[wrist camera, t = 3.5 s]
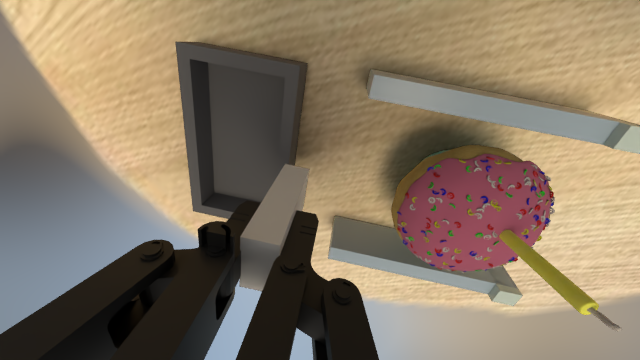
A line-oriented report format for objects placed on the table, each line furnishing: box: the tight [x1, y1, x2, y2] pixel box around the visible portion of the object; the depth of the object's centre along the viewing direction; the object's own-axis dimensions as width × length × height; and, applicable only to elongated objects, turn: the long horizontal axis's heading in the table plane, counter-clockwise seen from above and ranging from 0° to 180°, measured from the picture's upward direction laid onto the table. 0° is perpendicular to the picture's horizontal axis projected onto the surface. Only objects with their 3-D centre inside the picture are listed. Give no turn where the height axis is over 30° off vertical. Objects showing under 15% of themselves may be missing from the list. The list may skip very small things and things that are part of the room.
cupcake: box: [391, 145, 621, 331], centre depth 14 cm, size 9×8×12 cm
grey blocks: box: [328, 69, 640, 306], centre depth 17 cm, size 13×14×5 cm
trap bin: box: [176, 42, 308, 219], centre depth 19 cm, size 13×8×2 cm, turn 171°
